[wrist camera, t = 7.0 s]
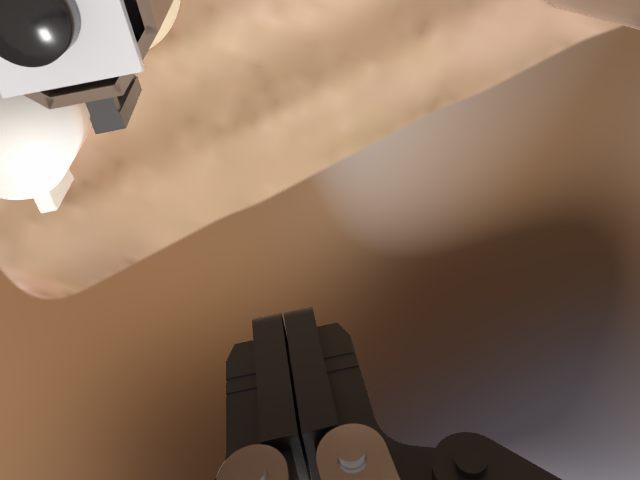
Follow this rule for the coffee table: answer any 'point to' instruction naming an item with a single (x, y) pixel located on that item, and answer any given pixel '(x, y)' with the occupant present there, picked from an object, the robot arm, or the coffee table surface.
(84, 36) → the carafe
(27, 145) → the mug
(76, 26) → the plunger
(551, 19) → the coffee table surface
